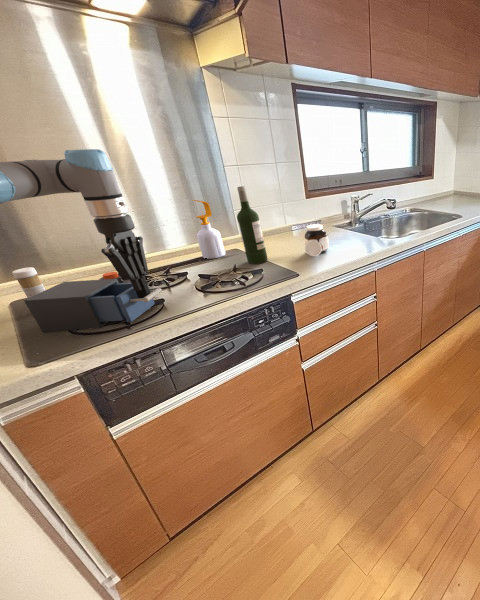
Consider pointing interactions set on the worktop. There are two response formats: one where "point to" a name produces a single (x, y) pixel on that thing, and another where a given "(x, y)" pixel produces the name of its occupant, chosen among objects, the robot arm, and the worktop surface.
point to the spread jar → (316, 240)
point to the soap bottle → (209, 237)
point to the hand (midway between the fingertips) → (145, 298)
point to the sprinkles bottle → (29, 281)
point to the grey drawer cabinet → (67, 305)
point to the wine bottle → (251, 231)
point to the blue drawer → (121, 302)
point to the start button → (110, 275)
